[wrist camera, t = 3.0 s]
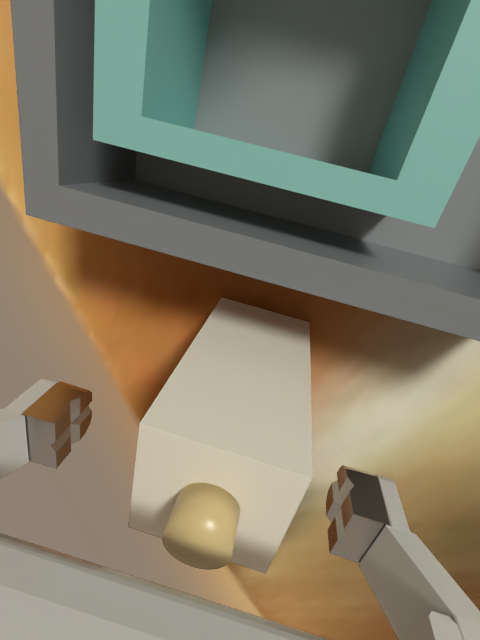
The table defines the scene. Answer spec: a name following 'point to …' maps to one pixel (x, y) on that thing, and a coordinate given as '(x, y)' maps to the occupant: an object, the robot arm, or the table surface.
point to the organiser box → (263, 130)
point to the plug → (228, 441)
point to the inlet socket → (276, 166)
